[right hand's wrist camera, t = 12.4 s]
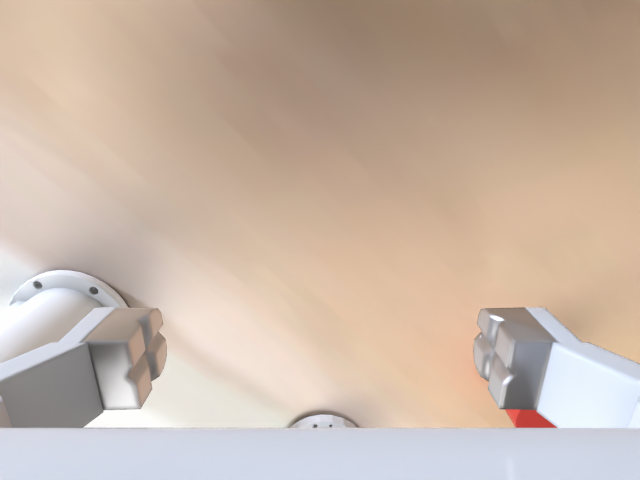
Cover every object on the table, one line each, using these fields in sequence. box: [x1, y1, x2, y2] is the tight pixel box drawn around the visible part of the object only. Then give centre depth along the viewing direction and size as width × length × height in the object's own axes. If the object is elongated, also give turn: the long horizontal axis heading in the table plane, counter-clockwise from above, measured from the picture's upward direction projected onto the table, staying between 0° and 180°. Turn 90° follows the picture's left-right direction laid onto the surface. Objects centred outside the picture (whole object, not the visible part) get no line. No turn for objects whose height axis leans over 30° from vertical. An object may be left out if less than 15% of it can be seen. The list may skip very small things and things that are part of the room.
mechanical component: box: [290, 414, 357, 428], centre depth 46 cm, size 10×4×10 cm
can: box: [505, 409, 557, 428], centre depth 40 cm, size 5×5×8 cm
